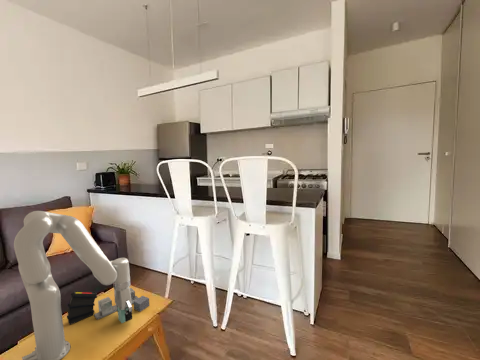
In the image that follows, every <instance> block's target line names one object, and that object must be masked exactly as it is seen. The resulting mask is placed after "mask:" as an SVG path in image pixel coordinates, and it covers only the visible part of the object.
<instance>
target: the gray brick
mask: <svg viewBox="0 0 480 360" xmlns="http://www.w3.org/2000/svg"><path fill="white" fill-rule="evenodd" d="M133 302H134V303H133V309H134V310H136V311H138V312H140V313H141V312H142V311H144V310H146V309H147V308H149V307H150V298H149V297H148V296H145V295H141V296H140V297H138V299H136V300H135V301H133Z"/></svg>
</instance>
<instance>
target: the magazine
mask: <svg viewBox="0 0 480 360" xmlns="http://www.w3.org/2000/svg"><path fill="white" fill-rule="evenodd" d="M97 295H98V293H97V292H96V291H83V290H82V291H80V290H73V291H72V292H71V293H70V298H69V299H70V300H69V303H67V307H68V308H67V309H68V310H67V315H66V318H67V322H68V325H69V326H70V325H73V324H76V323H78V322H80V321H83V320H85V319H87V318H89V317H92V316H94V314H95V310H94V306H95V305H96V304H95V300H96V299H97V298H98V296H97Z"/></svg>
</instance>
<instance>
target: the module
mask: <svg viewBox="0 0 480 360" xmlns="http://www.w3.org/2000/svg"><path fill="white" fill-rule="evenodd" d="M126 307H127V306H126ZM117 308H118V311H117V317H118V321H119V322H120V323H121V324H124V323H125V322H126V321H125V314H126V313H125V310H124V309H123V310H121V309H120V308H119V307H117ZM126 310H128V308H127V309H126ZM126 323H127V322H126Z"/></svg>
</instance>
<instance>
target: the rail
mask: <svg viewBox="0 0 480 360" xmlns="http://www.w3.org/2000/svg"><path fill="white" fill-rule="evenodd" d="M129 288H130V293H131V302H132V305H134V302H133V301H135V300H136V299H138V298H139V296H137V295H136V292H135V290H134V288H132V287H129ZM112 300H113V299H111V298H110V297H109V296H106V297H104V298H101V299H100V300H97V304H98V312H96V313H94V315H93V316H94V318H95V320H97V321H98V320H100V319H103V318H105V317H107V316H109V315H111V314H113V313H116V312H118V311H117V305H116V304H115V305H113V301H112Z"/></svg>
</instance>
